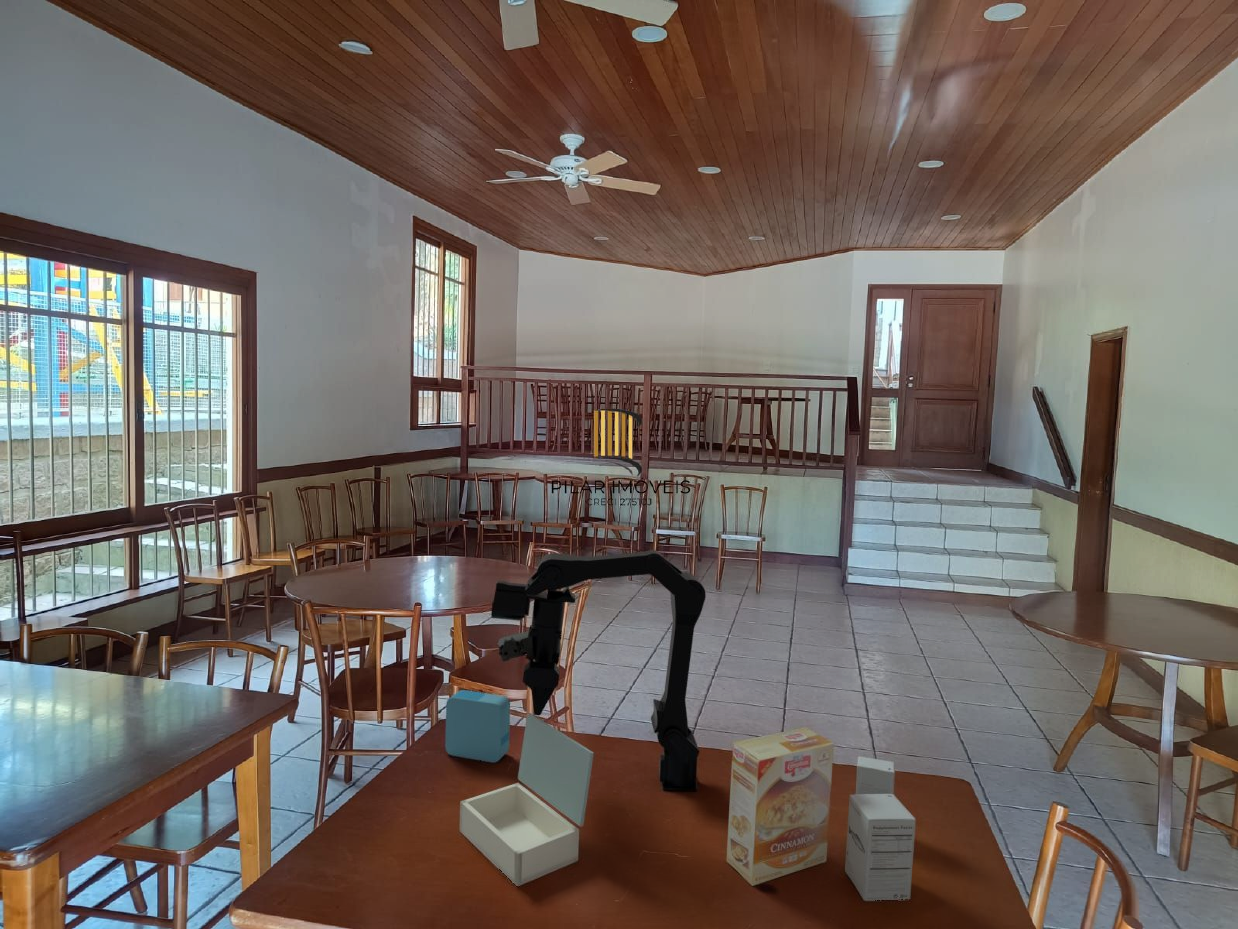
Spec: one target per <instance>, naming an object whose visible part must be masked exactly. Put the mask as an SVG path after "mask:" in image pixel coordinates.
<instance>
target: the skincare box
mask: <svg viewBox="0 0 1238 929" xmlns="http://www.w3.org/2000/svg"><path fill="white" fill-rule="evenodd" d="M856 764H857V765H856V785H855V786H856V787H855V794H894V795H895V793H894V792H895V775H896V772H895V763H894V761H889V760H883V759H877V758H872V757H865V756H859V755H858V757H857V763H856Z"/></svg>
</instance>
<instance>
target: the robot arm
mask: <svg viewBox="0 0 1238 929" xmlns="http://www.w3.org/2000/svg"><path fill="white" fill-rule="evenodd" d="M643 575H651V576H652V577H653V578H654V579H655V580H657V581H658V582H659V583H660V584H661V585H662V586H663V587H664V588H665V589H666V590H667V591H669V593H670V606H671V614H672V616H671V617H672V626H671V634H670V641H669V642H670V644H669V650H668V658H667V667H666V677H665V685H664V691H663V694H662V696H661V698H660V700H658V699H655V698H654V699H653V702H652V703H653V705H652V706H653V711H652V713H651V714H652V715H651V717H650V722H651V725H652V729H653V733H654V734H656V737H657V741H658V744H659V745H660V746H661V747H663V749H662V750H663V751H662V754H660V755H659V769H658V770H659V772H658V773H659V774H658V775H659V776H658V777H659V783H661V789H662V790H664V791H679V792H680V791H681V792H683V791H684V792H697V791H698V783H697V782H698V781H697V774H698V773H697V772H698V771H697V770H698V757H699V755H700V748H699V746H698V743H697V741H696V738H695V736H694V733H693V730H692V729H691V728H689V720H688V712H687V705H686V704H687V703H686V696H687V690H688V682H689V680H688V679H689V673H690V664H691V656H692V649H693V648H692V647H693V641H694V633H695V626H696V625H697V623H698V621H699V618H700V616H701V614H702V610H703V608H704V604H705V600H706V595H707V594H706V589H705V588H704V586H703V584H702V583H701V581H700V580H699V579H698V578H697V576H696V575H694V574H693V573H691V572H682V570H680V569H679V568H678V567H677V566H676V565H674V564H673V563H672V562H670V561H669V560H668V559H666V558H665V557H664V556H663V555H662V554H661V553H660V552H659V551H658V550H656V549H649V550H646V551H639V552H638V551H636V552H626V553H617V554H608V555H607V554H606V555H597V556H596V555H595V556H580V555H575V554H569V553H556V552H552V553H548V554H546V555H544V556H543V557H542V558H540V560H539V562H538V565H537V569H536V572H535V573H533V575H532V576H531V577H529V578H528V580H527V581H526V584H525V583H515V582H508V581H505V580H497V581H496V583H495V590H494V597H493V601H492V603H491V612H490V613H491V614H490V615H491V616H490V618H491V619H497V620H507V621H508V620H511V621H519V622H520V621H521V622H522V621H523V619H525V618H526V617H529V615H530V609H531V600H533V606H532V617H531V623H530V625H529V630H528V631H526V632H519V633H515V634H512V635H507V636H504V637H501V638H499V640H498V643H497V647H498V655H499V656H500V659H501V661H502V662H508V661H510V660H511V659H515V658H516V659H517V658H519V657H522V656H525V660H526V659H527V660H528V661H529V662H527V663H526V664H525V665H524V669H523V675H522V676H523V677H522V684H523V685H525V686H527V687H528V688H529V689H530V692H531V699H532V708H533V715H534V716H538V717H540V716H541V714H542V713H543V711H544V710H545V708H546V706H547V704H548V703H549V702H548V701H550V699H551V697H552V695H553V693H554V692H555V690H556V689H557V687H558V686H559V681H560V667H559V666H558V664H559V662H560V657H561V650H562V649H561V648H562V636H563V635H562V634H563V627H564V626H563V625H564V616H565V615H564V614H565V607H566V603H568V604H569V603H571V604H573V603H574V604H575V603H576V595H575V594H574V593H573V591H572V590H571V589H570V587H572V586H575V585H578V584H580V583H582V582H586V581H588V580H600V579H610V578H611V579H612V578H621V577H631V576H643ZM561 589H562V590H561ZM545 591H547V592H545Z"/></svg>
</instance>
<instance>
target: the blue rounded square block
mask: <svg viewBox="0 0 1238 929" xmlns="http://www.w3.org/2000/svg"><path fill="white" fill-rule="evenodd" d="M510 702H511V701H510V699H509V698H508V697H507V696H504V695H499V694H493V693H487V692H480V691H474V690H473V691H472V690H465V689H461V690H458V691H457V692H456V693H454V694H453V695H451V697H449V698H448V699H447V700H446V703H445V751H446V753H448V755H450V756H452V757H459V758H463V759H469V760H476V761H480V760H481V761H482V762H488V763H495V764H496V763H498V762H499V761H501V759H502V758H503V757H504V756H505V755H506V754H507V753H508V751H509V749H510V729H511V728H510V726H511V724H510V723H511V722H510V721H511V703H510Z"/></svg>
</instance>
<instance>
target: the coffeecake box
mask: <svg viewBox="0 0 1238 929" xmlns="http://www.w3.org/2000/svg"><path fill="white" fill-rule="evenodd" d="M834 745H835V744H834V742H832V741H830V740H829V739H827V738H825V737H824V736H822V735H820V734H817V732H815V731H813V730H812V729H809V728H808V727H806V726H804V727H801V728H796V729H791V730H786V731H780V732H776V733H771V734H767V735H761V736H758V737H757V736H756V737H751V738H747V739H743V740H737V741H732V756H731V772H730V775H731V776H730V789H729V790H730V792H729V793H730V794H729V809H728V810H729V811H728V826H727V843H726V844H727V846H726V847H727V848H726V862H727V864H729V865H730V866H731V867H732V868H733V869H735V870H736V872H738V873H739V875H741V877H742V878H743V879H744V880H745V881H746V882H747V883H749V884H750V885H751V886H752V887H753V886H756V885H761V884H763V883H766V882H768V881H772V880H775V879H777V878H780V877H781V878H782V877H783V876H784V877H785V876H786V875H789V874H792V873H795V872H799V871H802V870H805V869H808V868H813V867H815V866H817V865H820V864H824V863H826V862H827V857H828V839H829V837H828V836H829V824H830V810H831V808H830V807H831V794H832V793H831V792H832V791H831V790H832V779H833V761H834Z"/></svg>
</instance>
